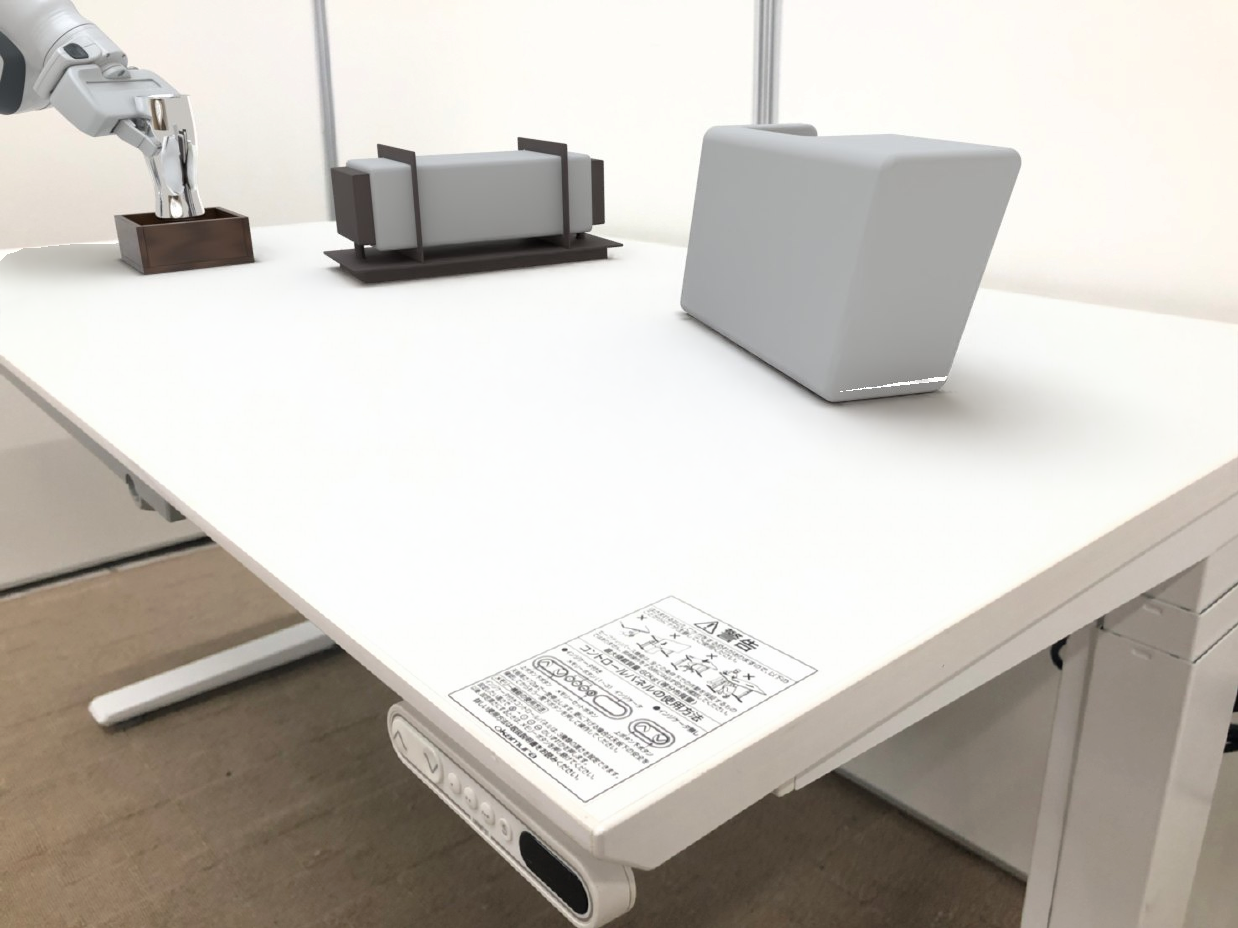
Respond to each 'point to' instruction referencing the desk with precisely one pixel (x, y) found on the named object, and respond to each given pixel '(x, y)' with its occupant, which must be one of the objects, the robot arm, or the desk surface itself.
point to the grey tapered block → (843, 251)
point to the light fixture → (468, 211)
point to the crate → (184, 241)
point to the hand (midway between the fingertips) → (174, 150)
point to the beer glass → (172, 154)
